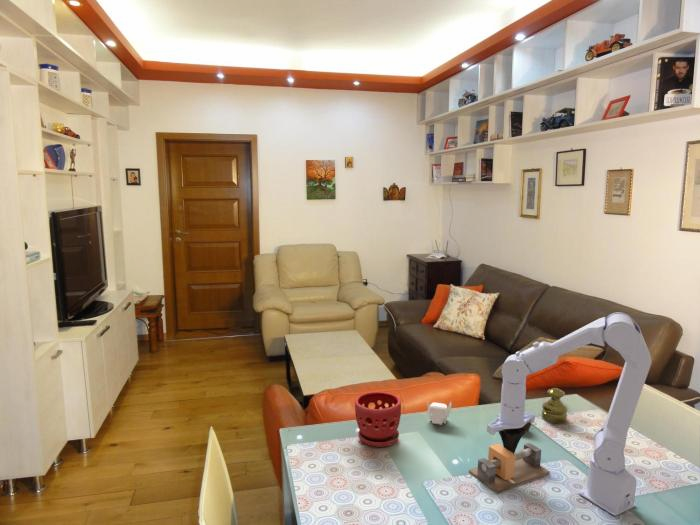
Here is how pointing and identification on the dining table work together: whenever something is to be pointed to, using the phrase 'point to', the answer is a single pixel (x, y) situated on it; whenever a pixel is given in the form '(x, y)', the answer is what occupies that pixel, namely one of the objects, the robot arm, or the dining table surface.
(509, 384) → the robot arm
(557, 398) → the olive green vase
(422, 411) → the dining table surface
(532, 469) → the sliding block rail
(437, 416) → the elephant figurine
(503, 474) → the collar
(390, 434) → the plant pot
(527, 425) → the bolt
